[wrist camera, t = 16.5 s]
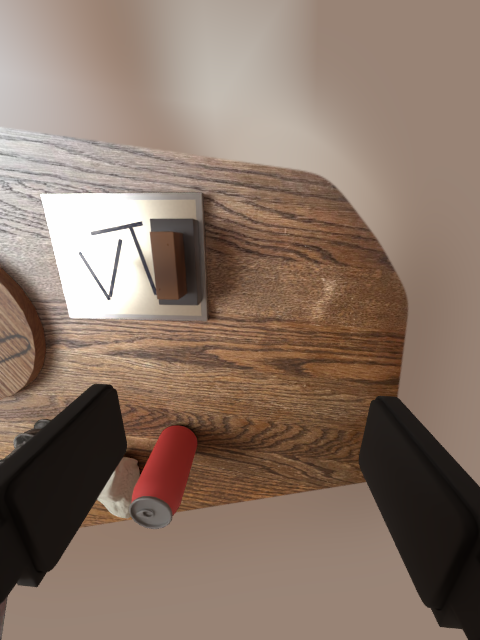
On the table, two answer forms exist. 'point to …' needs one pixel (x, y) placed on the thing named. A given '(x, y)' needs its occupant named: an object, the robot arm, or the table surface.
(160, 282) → the eraser
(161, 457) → the beer can
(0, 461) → the dark chess piece
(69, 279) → the whiteboard
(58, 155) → the table surface
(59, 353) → the table surface
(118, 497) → the decorative stone
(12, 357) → the trivet
